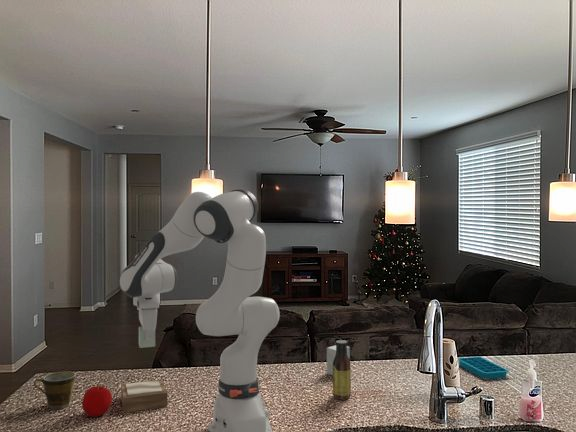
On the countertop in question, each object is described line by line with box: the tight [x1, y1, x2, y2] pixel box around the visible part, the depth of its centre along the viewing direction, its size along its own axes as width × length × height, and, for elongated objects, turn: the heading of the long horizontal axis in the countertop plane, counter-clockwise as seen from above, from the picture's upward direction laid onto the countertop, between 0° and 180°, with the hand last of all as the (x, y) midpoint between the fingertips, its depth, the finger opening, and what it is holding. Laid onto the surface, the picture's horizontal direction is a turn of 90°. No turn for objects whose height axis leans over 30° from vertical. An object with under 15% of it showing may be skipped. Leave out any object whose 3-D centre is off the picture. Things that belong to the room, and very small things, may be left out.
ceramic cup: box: [33, 370, 77, 410], centre depth 169 cm, size 13×10×10 cm
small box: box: [326, 344, 351, 376], centre depth 204 cm, size 8×6×10 cm
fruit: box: [81, 382, 113, 418], centre depth 163 cm, size 9×9×10 cm
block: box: [138, 326, 156, 349], centre depth 173 cm, size 5×5×6 cm
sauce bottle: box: [332, 339, 352, 401], centre depth 177 cm, size 7×6×20 cm
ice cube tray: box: [457, 356, 510, 380], centre depth 207 cm, size 12×20×3 cm, turn 13°
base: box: [120, 378, 168, 413], centre depth 173 cm, size 14×14×5 cm
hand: (146, 339), depth 173 cm, fingers closed on block, 5 cm apart
